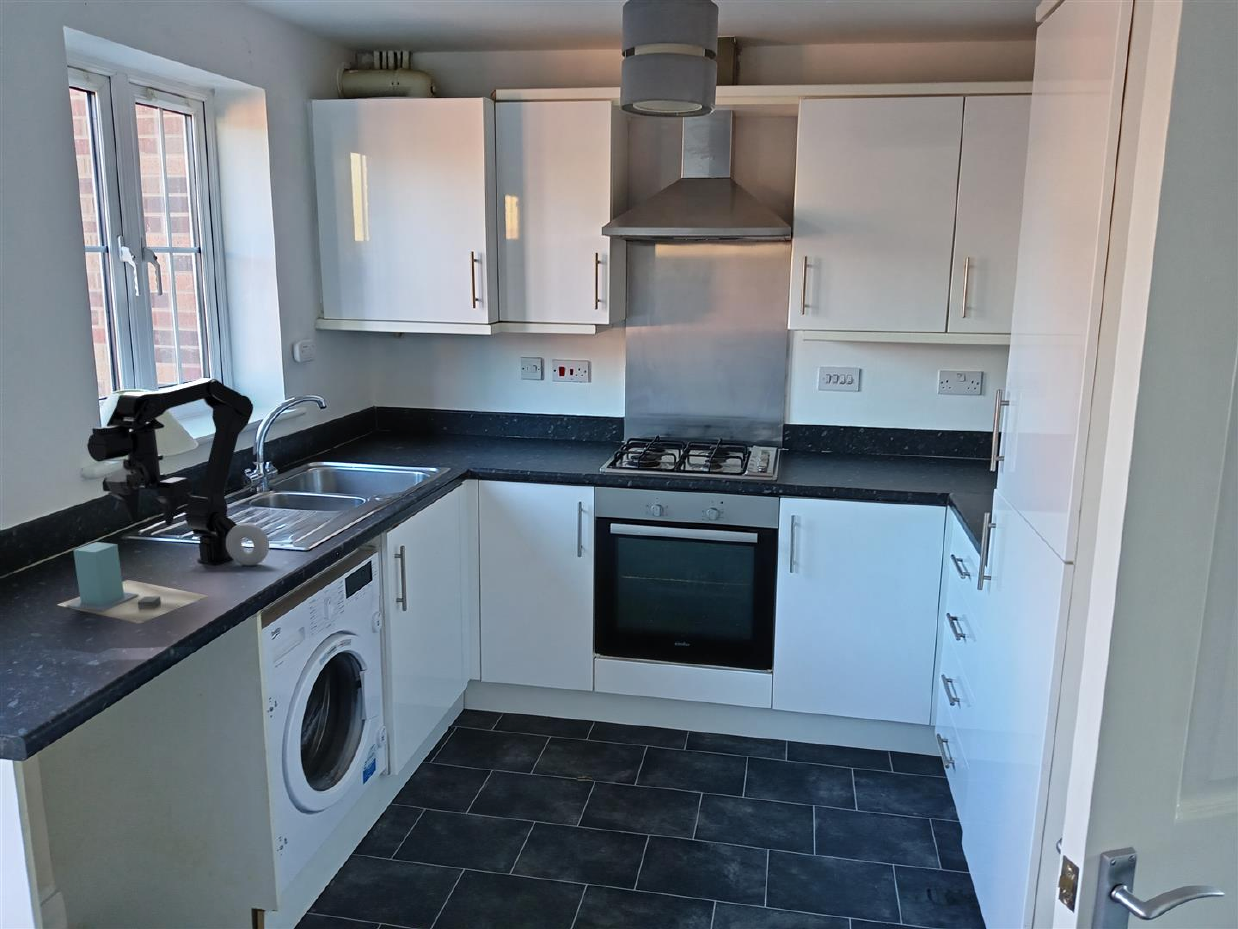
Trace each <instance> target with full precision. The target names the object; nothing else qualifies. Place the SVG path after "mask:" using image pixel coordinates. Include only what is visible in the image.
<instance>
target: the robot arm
mask: <svg viewBox="0 0 1238 929" xmlns="http://www.w3.org/2000/svg"><path fill="white" fill-rule="evenodd" d="M200 400H203V401H204V403H205V404H206V405H207V406H208V407H209V408H211V409H212V415H211V416H212V417H211V418H212V421H213V424H214V428H215V432H214V437H213V440H212V445H211V448H210V452H209V456H208V461H207V464H206V468H205V473H204V475H203V476H204V477H203V481H202V483H201V484H202V485H201V489H200V490H199V492H198V493H197V494H195V495H189V496H188V499H187V503H186V504H187V506H186V508H185V510H184V512H183V513H184V514H185V522H186V523H187V525H188V526H189V528H190V529H191V531H192V533H193V535H195V536H197V535H198V536H199V535H200V536H199V544H198V548H199V558H197V560H196V561H197V562H199V563H204V564H208V565H209V564H210V565H214V566H215V565H216V566H217V565H220V564H224V563H225V562H228V561H232V560H234V559H233V558H231V556H230V555H229V553H228V552H227V548H226V537H227V535H228V532H229V531H230V530H231V529H232V528H233V527H234V526H236V525H238V524H237V523H236V522H234V520H232V519H231V518H230V517H228V504H227V500H226V497H225V490H226V486H227V482H228V479H229V474H230V470H231V467H232V462H233V458H234V454H235V449H236V446H237V443H238V439H239V438H238V437H239V435H240V433H241V432H242V431H243V430H244V429H245V428H246V427H247V425H248V424H249V422H250V419H251V418H252V414H253V411H254V404H253V403H252V400H251V399H250V398H249V397H248V396H247V395H242V394H241V393H240V392H239V391H236V390H234V389H232V388H231V387H228V386H226V385H224V383H222V382H221V381H220V380H218V379H215V378H203V377H201V378H199V379H196V380H195V381H190V382H187V383H186V382H185V383H182V384H179V385H175V386H172V387H168V388H163V389H161V390H156V391H155V390H154V391H135V392H134V391H133V392H124V393H121V394H120V395H119V396H118V399H117V401H116V406H115V408H114V410H113V412H112V414H111V416H110V418H109V420H108V422H106V423H107V424H106V426H103V427H100V426H99V427H98V426H97V427H93V428H92V430H91V431H92V434H91V435H90V436H89V438H88V441H87V444H86V447H87V451H88V454H89V456H90V457H91V458H92V459H93V460H94V461H96V462H98V463H99V462H105V461H110V460H114V459H119V458H123V457H127V458H123V461H122V467H121V469H118V470H117V471H115V472H114V473H113V474H111V475H108V476H106V477H104V479H103V480H102V482H101V484H102V491H103V492H108V496H109V495H110V496H113V497H114V498H116V499H118V500H119V501H120V503H121V505H122V507H123V508H124V510H125V512H126V514H127V515H128V516H127V517H128V518H129V519H130V521H131V523H137V521H138V518H139V505H140V489H144V490H155V492H156V494H157V495H158V496H156V500H158V501H159V503H161V505H162V506H161V507H162V512H163V513H162V514H163V518H164V523H165V526H167V527H168V526H171V525H172V524H173V521H174V519H175V517H176V516H175V515H176V513H177V511H178V507H179V505H180V503H181V501H182V499H183V497H184V496H186V495H187V494H188V493H189V492H191V491H192V490H193V489H192V482H191V480H190V479H188V478H187V477H175V476H174V477H171V478H167V479H166V473H161V468H160V467H161V466H160V461H164V455H163V454H159V451H158V450H159V449H158V442H157V435H156V430H159V429H164V428H165V425H164V424H163V423H161V422H160V421H158V419H157V418H159V417H161V416H162V415H164V413H165V412H167V410H170V409H173V408H175V407H179V406H183V405H187V404H190V403H194V402H197V401H200Z"/></svg>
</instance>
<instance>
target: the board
mask: <svg viewBox="0 0 1238 929" xmlns="http://www.w3.org/2000/svg"><path fill="white" fill-rule="evenodd" d="M122 584H123V591H124V593H132V594H138V595H139V596H138V597H136V598H133V599H131V600H129V601H126V602H124V603H122V604H119V605H117V606H115V607H112V608H110V609H108V610H106V611H103V612H99V611H92V610H84V609H77V608H70V607H67V606H66V605H68V604H70V603H73V602H75V601H78V600H80V596H77V597H75V598H71V599H70V600H69V599H68V600H67V601H63V602H61V603H60V602H59V603H58V604H56V605H57V606H59V607H64V608H67V609H71V610H78V611H81V612H82V611H83V612H85V613H90V614H96V615H99V616H104V617H109V618H113V619H116V620H121V621H126V622H131V623H133V624H134V623H135V624H138V625H139V624H143V623H145V622H147V621H150V620H152V619H155V618H157V617H160V616H162V615H165V614H168V613H170V612H172V611H175V610H178V609H180V608H182V607H183V608H184V607H185V606H187V605H190V604H192V603H195V602H198V601H201V600H203V599H205V598H207V597H209V595H206V594H201V593H197V592H191V591H186V590H182V589H181V590H180V589H176V588H170V587H166V586H161V585H156V584H151V583H145V582H140V581H135V580H130V579H126V580H124V581H123V580H122Z"/></svg>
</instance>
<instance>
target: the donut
mask: <svg viewBox="0 0 1238 929" xmlns="http://www.w3.org/2000/svg"><path fill="white" fill-rule="evenodd" d="M243 539H249V540H250V541H251V542H252V544H253V548H252V550H247V549H245V547H244V546H243V544H242V541H243ZM226 548H227V552H228V553H229V555H230V556H231V558H233V559H232V560H234V561H235V563H238V564H240V565H243V566H247V567H249V566H250V567H251V566H256V565H258V564H260V563H262V562H263V561H264V560H265V559H266V558H267V556H268V554H269V551H270V541H269V537H268V535H267V533H266V532H265V530H263V529H262V528H261V527H260V526H258V525H256V524H254V523H248V522H245V523H244V522H243V523H239V524H237V525H236V526H234V527H233V528H232V529H231V530H230V531H229V532H228V535H227V537H226Z"/></svg>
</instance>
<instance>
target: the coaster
mask: <svg viewBox="0 0 1238 929" xmlns="http://www.w3.org/2000/svg"><path fill="white" fill-rule="evenodd" d="M138 596H139V595H138V594H132V593H124V597H122V598H119V599H117V600H115V601H112V602H110V603H108V604H105V605H103V606H100V605H92V604H84V603H81V600H78V601H75V602H73V603H70V604H68V605H66V606H67V607H66V608H68V607H70V608H69V609H72V608H77V609H84V610H92V611H99V612H103V611H106V610H108V609H110V608H112V607H115V606H117V605H119V604H122V603H124V602H126V601H129V600H131V599H133V598H136V597H138ZM77 609H76V610H77Z"/></svg>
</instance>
